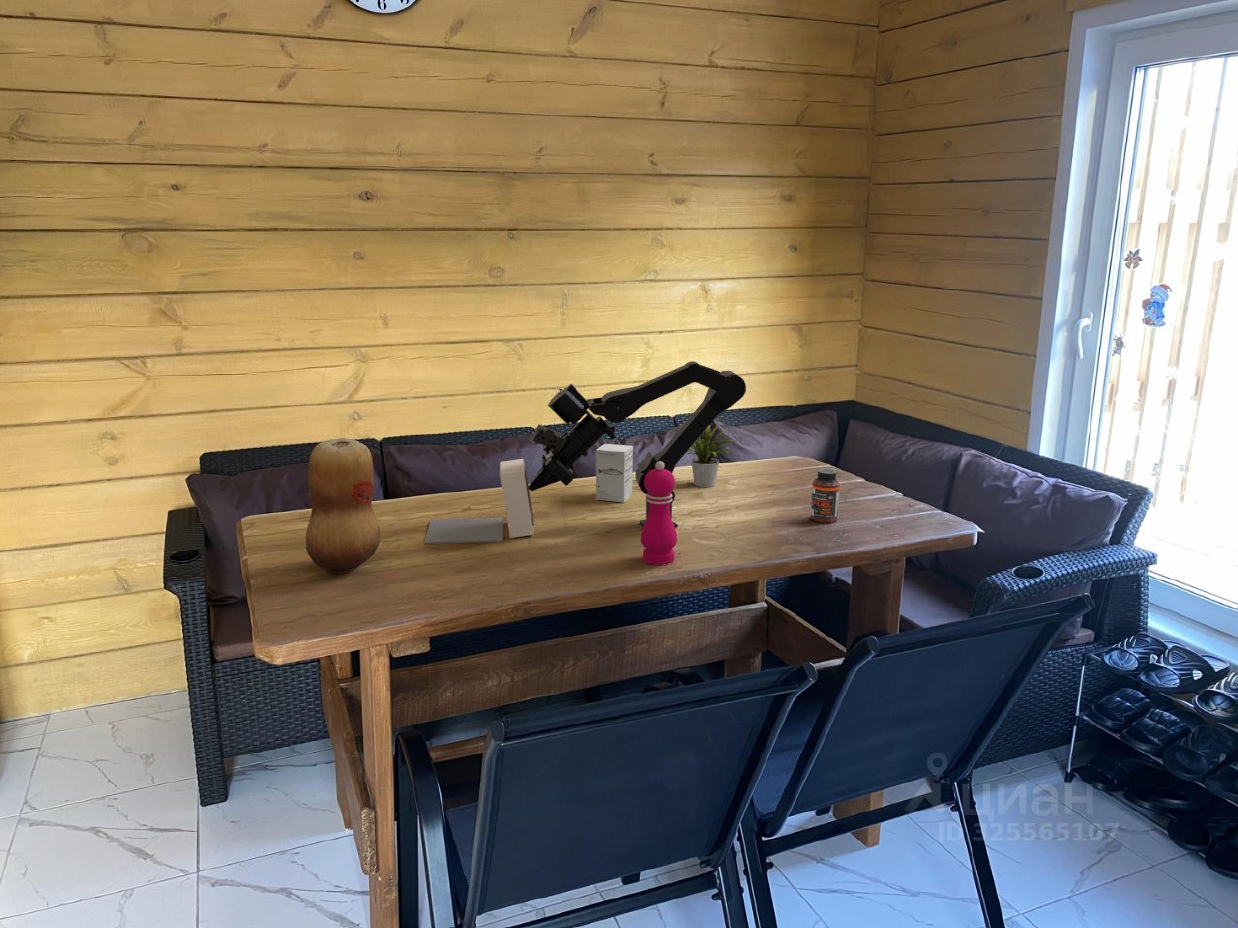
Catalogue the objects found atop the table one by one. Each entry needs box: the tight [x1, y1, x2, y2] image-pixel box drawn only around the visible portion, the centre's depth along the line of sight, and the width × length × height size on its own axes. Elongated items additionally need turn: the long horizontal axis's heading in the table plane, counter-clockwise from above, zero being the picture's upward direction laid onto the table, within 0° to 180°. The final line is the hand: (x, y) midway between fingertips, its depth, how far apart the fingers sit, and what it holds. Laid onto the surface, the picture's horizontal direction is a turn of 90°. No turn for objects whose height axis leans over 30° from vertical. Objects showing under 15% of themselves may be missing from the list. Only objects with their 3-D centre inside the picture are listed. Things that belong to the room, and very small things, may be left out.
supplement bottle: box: [810, 468, 840, 524], centre depth 214 cm, size 6×6×11 cm
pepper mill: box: [640, 461, 678, 566], centre depth 186 cm, size 7×7×20 cm
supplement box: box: [595, 443, 634, 503], centre depth 230 cm, size 7×7×13 cm
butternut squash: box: [305, 437, 381, 571], centre depth 181 cm, size 14×13×25 cm
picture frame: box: [499, 458, 535, 539], centre depth 205 cm, size 5×11×14 cm, turn 6°
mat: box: [424, 517, 504, 545], centre depth 206 cm, size 16×16×1 cm
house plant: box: [685, 423, 734, 488], centre depth 241 cm, size 14×14×16 cm
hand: (529, 489), depth 205 cm, fingers closed
